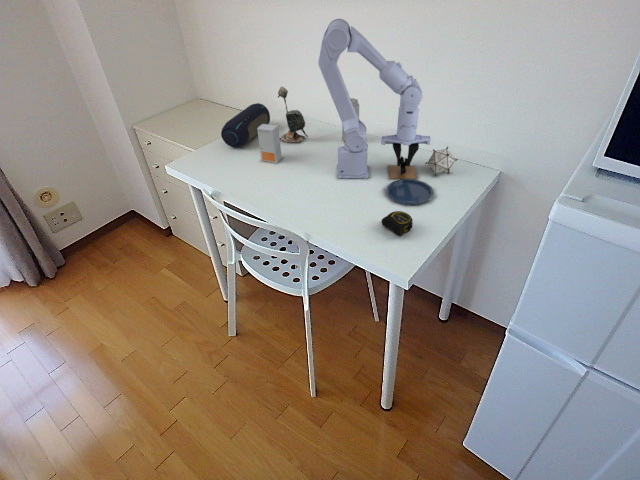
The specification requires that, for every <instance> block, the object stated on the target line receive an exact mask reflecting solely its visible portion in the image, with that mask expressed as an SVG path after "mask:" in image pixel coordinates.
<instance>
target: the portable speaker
mask: <svg viewBox="0 0 640 480" xmlns="http://www.w3.org/2000/svg"><path fill="white" fill-rule="evenodd" d="M270 121H271V114H270V111H269V109H268V107H266V106H265V104H262V103H260V102H257V103H252V104H250V105H248V106H247V107H245V108H244V109H243V110H242V111H240V112H239V113H237V114H236V115H234V116H233V117H231V118H230V119H229V120H228V121H226V122H225V124H224V125H223V126H222V128H221V132H220V136H221V139H222V141H223V142H224V144H226V145H227V146H229V147H231V148H241V147H244V146H245V145H247V144H248V143H249V142H250V141H251V140H252V139H254V138H255V137H256V136H258V130H257V128H258V127H259V126H261V125H262V124H270Z"/></svg>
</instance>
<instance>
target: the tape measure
mask: <svg viewBox="0 0 640 480" xmlns="http://www.w3.org/2000/svg"><path fill="white" fill-rule="evenodd" d="M381 225H382V226H383V227H384V228H385V229H387V230H389V231H390V232H391V233H393V234H394V235H396V236H397V237H399V238H400V237H402V236H404V234H407V233H408V232H410V231H411V229H412V228H413V218H412V216H411V215H410V214H409V213H408V212H405V211H402V210H396V211H392V212H390V213H388V214H387V215H386V216H384V217H382V219H381Z"/></svg>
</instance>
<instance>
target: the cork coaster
mask: <svg viewBox="0 0 640 480" xmlns="http://www.w3.org/2000/svg"><path fill="white" fill-rule="evenodd" d="M405 167H406V172H405V173H404V174H403V175H401V168H400V166H397V164H396V165H394V164H392V165H390V164H389V165H388V175H389V180H400V179H415V180H418V175H417V171H416V166H415V165H411V164H410V166H405Z"/></svg>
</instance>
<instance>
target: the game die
mask: <svg viewBox="0 0 640 480" xmlns="http://www.w3.org/2000/svg"><path fill="white" fill-rule="evenodd" d="M448 149H449V146H446V148H443V149H438V150H435V149H434V148H432V154H431V156H430V158H429V159H428V161H427V162H424V164H425V165H428V166H429V167H430V169H431V170H432V171H433V173H434V177H436V176H437V175H438V174H442V173H443V174H444V173H447V174H450V171H451V170H450V169H451V168H452V166H453V165H454V163H455V162H457V161H458V160H459V159H458V158H454V156H453V155H452V154H451V152H450V151H449V150H448Z"/></svg>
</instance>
